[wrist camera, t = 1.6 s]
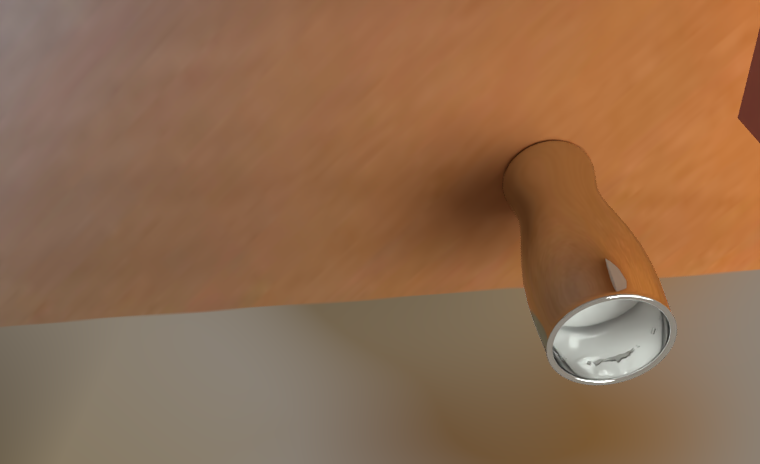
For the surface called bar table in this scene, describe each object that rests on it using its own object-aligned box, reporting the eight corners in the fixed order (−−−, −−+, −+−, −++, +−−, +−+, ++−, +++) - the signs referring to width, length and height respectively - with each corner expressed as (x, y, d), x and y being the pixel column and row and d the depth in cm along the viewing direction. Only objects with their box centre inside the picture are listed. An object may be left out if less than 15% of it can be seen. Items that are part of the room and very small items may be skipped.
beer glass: (497, 137, 46) (547, 297, 34) (606, 129, 46) (694, 287, 34) (494, 224, 50) (537, 392, 38) (593, 216, 50) (668, 383, 38)
